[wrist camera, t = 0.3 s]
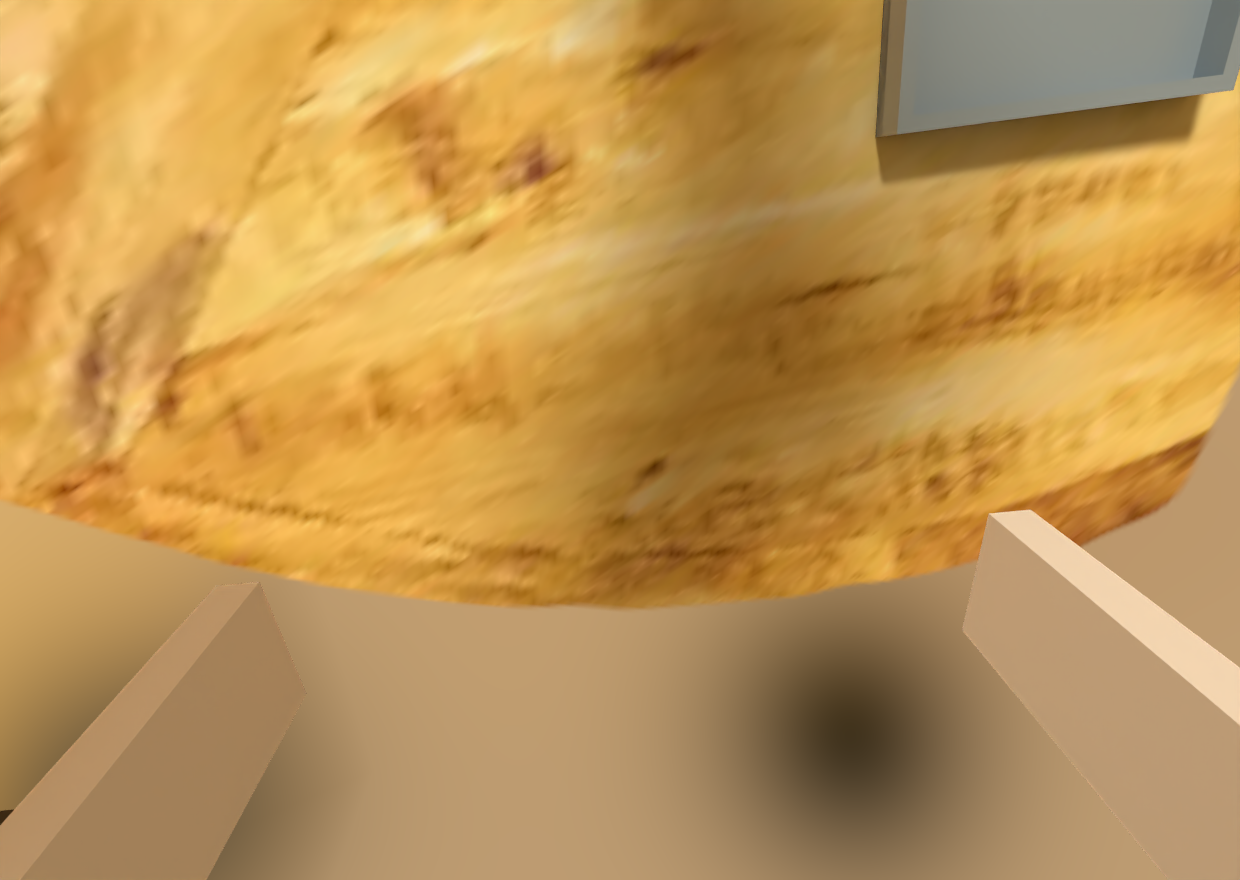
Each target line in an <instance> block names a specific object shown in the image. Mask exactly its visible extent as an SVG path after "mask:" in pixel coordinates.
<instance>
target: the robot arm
mask: <svg viewBox="0 0 1240 880" xmlns="http://www.w3.org/2000/svg"><path fill="white" fill-rule="evenodd" d="M962 631H963V632H964V633H965V634H966V635H967V637H968V638H969V639H970V640H971V641H972V642H973V644H974V645H975V646H976V648H978V650H979V651H980V652H981V654H982V655H983V656H984V657H985V658H986V660H987V661H988V662H989V663H990V664H991V666H992V667H993V668H994V669H995V671H996V672H997V673H998V674H999V675H1000V677H1001V678H1002V679H1003V680H1004V681H1005V683H1006V684H1007V685H1008V686H1009V687H1010V689H1011V690H1012V691H1013V692H1014V694H1015V695H1016V696H1017V697H1018V698H1019V700H1020V701H1021V702H1022V703H1023V704H1024V706H1025V707H1026V708H1027V709H1028V710H1029V712H1030V713H1031V714H1032V715H1033V717H1034V718H1035V719H1036V720H1037V721H1038V723H1039V724H1040V725H1041V726H1042V728H1043V729H1044V730H1045V731H1046V732H1047V734H1048V735H1049V736H1050V737H1051V738H1052V740H1053V741H1054V742H1055V743H1056V745H1057V746H1058V747H1059V748H1060V749H1061V751H1062V752H1063V753H1064V754H1065V755H1066V756H1067V758H1068V759H1069V760H1070V762H1071V763H1072V764H1073V765H1074V766H1075V768H1076V769H1077V770H1078V771H1079V772H1080V774H1081V775H1082V776H1083V777H1084V778H1085V780H1086V781H1087V782H1088V783H1089V784H1090V786H1091V787H1092V788H1093V789H1094V790H1095V792H1096V793H1097V794H1098V796H1099V797H1100V798H1101V799H1102V800H1103V802H1104V803H1105V804H1106V805H1107V806H1108V808H1109V809H1110V810H1111V811H1112V812H1113V813H1114V815H1115V816H1116V817H1117V819H1118V820H1119V821H1120V822H1121V823H1122V824H1123V826H1124V827H1125V828H1126V829H1127V830H1128V832H1129V833H1130V834H1131V836H1132V837H1133V838H1134V839H1135V840H1136V841H1137V843H1138V844H1139V845H1140V846H1141V848H1142V849H1143V850H1144V851H1145V853H1146V854H1147V855H1148V856H1149V857H1150V858H1151V860H1152V861H1153V862H1154V863H1155V865H1156V866H1157V867H1158V868H1159V870H1160V871H1161V872H1162V873H1163V874H1164V875H1165V877H1166V878H1167V879H1168V880H1240V668H1239V667H1238V666H1237V665H1235V664H1234V663H1233V662H1231V661H1230V660H1229V659H1227V658H1226V657H1225V656H1224V655H1222V654H1221V653H1220V652H1218V651H1217V650H1216V649H1214V648H1213V647H1212V646H1210V645H1209V644H1207V643H1206V642H1204V640H1202V639H1201V638H1200V637H1198V636H1197V635H1195V634H1194V633H1193V632H1192V631H1190V630H1189V629H1187V628H1186V627H1185V626H1184V625H1182V624H1181V623H1180V622H1178V621H1177V620H1176V619H1175V618H1173V617H1172V616H1171V615H1169V614H1168V613H1167V612H1165V611H1164V610H1162V609H1161V608H1160V607H1159V606H1157V605H1156V604H1154V603H1153V602H1152V601H1150V600H1149V599H1148V598H1147V597H1145V596H1144V595H1143V594H1141V593H1140V592H1139V591H1137V590H1136V589H1135V588H1133V587H1132V586H1131V585H1129V584H1128V583H1127V582H1126V581H1124V580H1123V579H1122V578H1120V577H1119V576H1118V575H1116V574H1115V573H1114V572H1112V571H1111V570H1110V569H1108V568H1107V567H1106V566H1104V565H1103V564H1102V563H1100V562H1099V561H1098V560H1096V559H1095V558H1094V557H1092V556H1091V555H1090V554H1088V553H1087V552H1086V551H1084V550H1083V549H1082V548H1081V547H1079V546H1078V545H1077V544H1075V543H1074V542H1073V541H1071V540H1070V539H1069V538H1067V537H1066V536H1065V535H1063V534H1062V533H1061V532H1059V531H1058V530H1057V529H1055V528H1054V527H1053V526H1051V525H1050V524H1049V523H1047V522H1046V521H1045V520H1043V519H1042V518H1041V517H1039V516H1038V515H1037V514H1036V513H1034V512H1033V511H1032V510H1022V511H1012V512H1001V513H990V514H989V515H988V520H987V524H986V528H985V533H984V537H983V542H982V546H981V550H980V555H979V559H978V563H977V568H976V572H975V576H974V581H973V585H972V589H971V594H970V599H969V602H968V607H967V611H966V616H965V620H964V624H963V628H962ZM305 696H306V691H305V688H304V686H303V684H302V681H301V679H300V677H299V674H298V672H297V669H296V667H295V665H294V662H293V660H292V658H291V655H290V653H289V651H288V648H287V646H286V643H285V641H284V639H283V636H282V634H281V632H280V629H279V627H278V625H277V622H276V620H275V618H274V615H273V613H272V610H271V608H270V606H269V603H268V601H267V599H266V596H265V594H264V592H263V589H262V587H261V584H260V582H253V583H252V582H251V583H241V584H230V585H220V586H215V587H214V588H213V590H212V591H211V592H210V593H209V594H208V595H207V596H206V598H204V600H203V601H202V602H201V603H200V604H199V605H198V606H197V607H196V609H195V610H194V611H193V612H192V613H191V614H190V615H189V616H188V617H187V618H186V620H185V621H184V622H183V623H182V624H181V625H180V626H179V628H177V630H176V631H175V632H174V633H173V634H172V635H171V636H170V637H169V638H168V640H167V641H166V642H165V643H164V644H163V645H162V646H161V647H160V648H159V650H158V651H157V652H156V653H155V654H154V655H153V656H152V657H151V659H150V660H149V661H148V662H147V663H146V664H145V665H144V666H143V667H142V668H141V670H140V671H139V672H138V673H137V674H136V675H135V676H134V677H133V678H132V680H131V681H130V682H129V683H128V684H127V685H126V686H125V687H124V688H123V690H122V691H121V692H120V693H119V694H118V695H117V696H116V697H115V698H114V700H113V701H112V702H111V703H110V704H109V705H108V706H107V707H106V708H105V710H104V711H103V712H102V713H101V714H100V715H99V716H98V717H97V718H96V720H95V721H94V722H93V723H92V724H91V725H90V726H89V727H88V728H87V730H86V731H85V732H84V733H83V734H82V735H81V736H80V737H79V738H78V740H77V741H76V742H75V743H74V744H73V745H72V746H71V747H70V748H69V750H68V751H67V752H66V753H65V754H64V755H63V756H62V757H61V758H60V760H59V761H58V762H57V763H56V764H55V765H54V766H53V767H52V768H51V770H50V771H49V772H48V773H47V774H46V775H45V776H44V777H43V779H42V780H41V781H40V782H39V783H38V784H37V785H36V786H35V787H34V788H33V790H32V791H31V792H30V793H29V794H28V795H27V796H26V797H25V798H24V800H23V801H22V802H21V803H20V804H19V805H18V806H17V807H16V808H15V809H14V810H5V811H0V880H206V879H207V878H208V876H209V874H210V872H211V870H212V868H213V866H214V865H215V863H216V861H217V859H218V857H219V855H220V853H221V852H222V850H223V848H224V846H225V844H226V842H227V840H228V838H229V836H230V835H231V833H232V831H233V829H234V827H235V826H236V824H237V822H238V820H239V818H240V816H241V814H242V813H243V811H244V809H245V807H246V805H247V803H248V801H249V800H250V798H251V796H252V794H253V792H254V790H255V788H256V786H257V785H258V783H259V781H260V779H261V777H262V775H263V774H264V772H265V770H266V768H267V766H268V764H269V762H270V761H271V759H272V757H273V755H274V753H275V751H276V749H277V747H278V746H279V744H280V742H281V740H282V738H283V736H284V734H285V733H286V731H287V729H288V727H289V725H290V723H291V722H292V720H293V718H294V716H295V714H296V712H297V710H298V708H299V707H300V705H301V703H302V701H303V699H304V697H305Z"/></svg>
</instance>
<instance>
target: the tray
mask: <svg viewBox="0 0 1240 880" xmlns="http://www.w3.org/2000/svg"><path fill="white" fill-rule="evenodd" d="M1239 68H1240V0H884V6H883V23H882V40H881V56H880V73H879V90H878V107H877V123H876V137H882V136H890V135H897V134H905V133H913V132H920V131H928V130H935V129H943V128H950V127H958V126H966V125H973V124H981V123H988V122H996V121H1003V120H1011V119H1018V118H1026V117H1034V116H1041V115H1049V114H1056V113H1064V112H1071V111H1079V110H1087V109H1094V108H1102V107H1109V106H1117V105H1124V104H1132V103H1139V102H1147V101H1155V100H1162V99H1170V98H1177V97H1185V96H1192V95H1200V94H1207V93H1215V92H1222V91H1230V90H1233V89H1234V86H1235V82H1236V79H1237V75H1238V72H1239Z"/></svg>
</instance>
